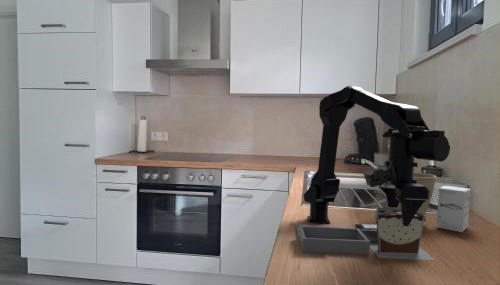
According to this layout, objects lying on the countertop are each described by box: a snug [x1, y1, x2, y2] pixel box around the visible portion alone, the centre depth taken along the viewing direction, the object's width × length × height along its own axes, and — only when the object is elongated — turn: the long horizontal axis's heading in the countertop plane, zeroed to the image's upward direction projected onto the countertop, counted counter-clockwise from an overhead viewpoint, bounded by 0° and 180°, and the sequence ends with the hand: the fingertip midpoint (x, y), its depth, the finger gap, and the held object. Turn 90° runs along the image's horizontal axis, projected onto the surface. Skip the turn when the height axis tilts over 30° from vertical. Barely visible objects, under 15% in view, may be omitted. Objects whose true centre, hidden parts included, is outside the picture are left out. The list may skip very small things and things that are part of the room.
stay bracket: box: [354, 223, 378, 243], centre depth 94 cm, size 6×12×4 cm, turn 87°
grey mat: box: [370, 243, 436, 261], centre depth 86 cm, size 10×13×1 cm
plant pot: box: [397, 171, 437, 214], centre depth 112 cm, size 15×15×16 cm
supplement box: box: [436, 185, 471, 233], centre depth 108 cm, size 7×7×13 cm
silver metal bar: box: [362, 225, 377, 230], centre depth 94 cm, size 3×9×3 cm, turn 87°
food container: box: [373, 206, 427, 254], centre depth 86 cm, size 12×6×10 cm, turn 90°
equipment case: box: [295, 224, 371, 255], centre depth 94 cm, size 21×16×4 cm
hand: (398, 220), depth 85 cm, fingers open, 9 cm apart
